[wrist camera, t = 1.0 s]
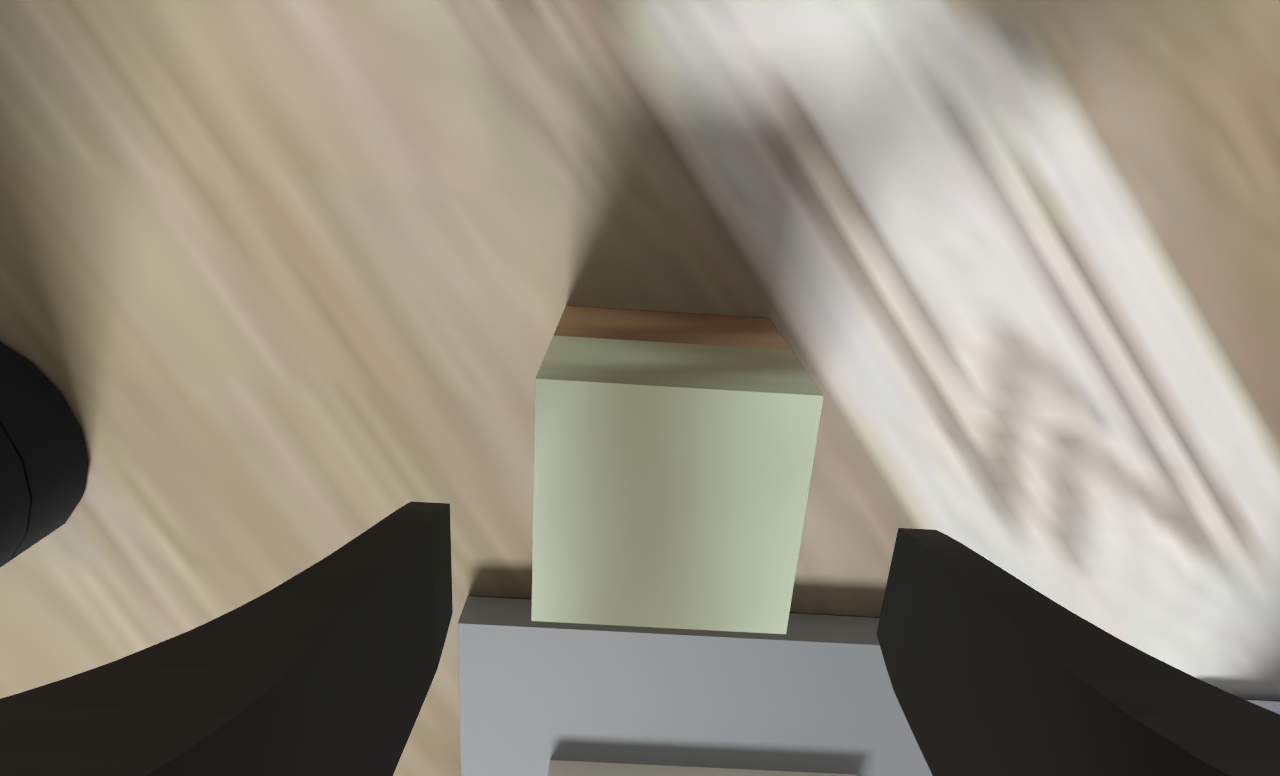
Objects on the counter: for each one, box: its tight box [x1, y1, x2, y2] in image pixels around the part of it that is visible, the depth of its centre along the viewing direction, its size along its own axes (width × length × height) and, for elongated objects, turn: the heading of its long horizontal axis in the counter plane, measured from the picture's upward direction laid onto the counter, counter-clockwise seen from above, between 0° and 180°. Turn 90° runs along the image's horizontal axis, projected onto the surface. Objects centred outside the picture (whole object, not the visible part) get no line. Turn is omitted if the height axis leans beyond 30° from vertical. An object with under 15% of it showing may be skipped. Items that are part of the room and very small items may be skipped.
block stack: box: [531, 306, 824, 634], centre depth 16 cm, size 5×5×6 cm
